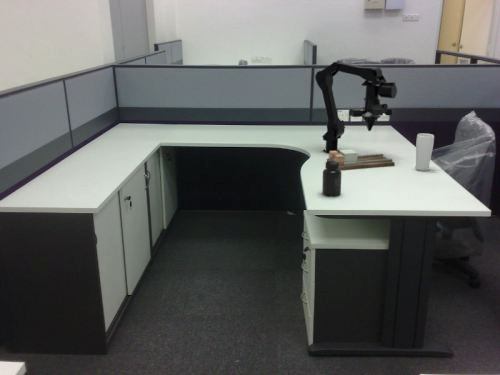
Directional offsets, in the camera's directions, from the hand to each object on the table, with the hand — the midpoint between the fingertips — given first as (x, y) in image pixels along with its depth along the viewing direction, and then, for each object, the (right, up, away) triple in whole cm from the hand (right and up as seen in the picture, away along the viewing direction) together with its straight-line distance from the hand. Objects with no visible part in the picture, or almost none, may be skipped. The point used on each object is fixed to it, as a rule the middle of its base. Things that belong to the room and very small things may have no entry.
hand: (369, 130), depth 213 cm
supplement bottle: (-24, -28, -40) cm, 55 cm away
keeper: (-11, -14, -6) cm, 19 cm away
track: (-5, -15, -4) cm, 17 cm away
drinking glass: (+19, -18, -14) cm, 30 cm away
